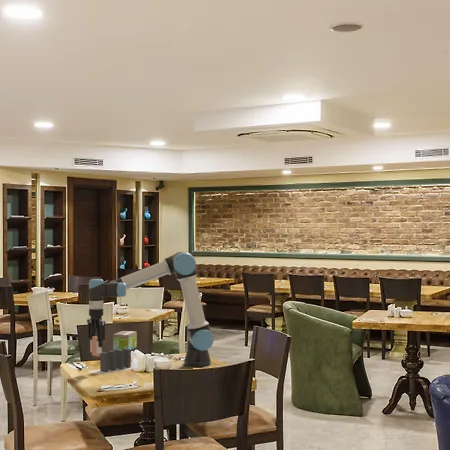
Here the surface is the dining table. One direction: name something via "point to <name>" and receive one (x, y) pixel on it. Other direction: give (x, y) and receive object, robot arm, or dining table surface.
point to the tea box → (125, 340)
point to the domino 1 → (94, 346)
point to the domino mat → (108, 371)
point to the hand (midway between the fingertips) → (96, 352)
